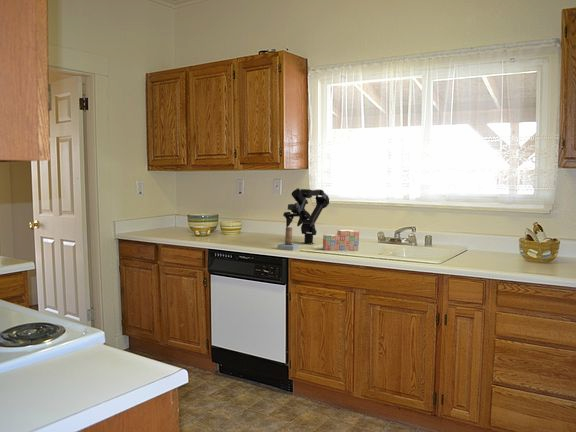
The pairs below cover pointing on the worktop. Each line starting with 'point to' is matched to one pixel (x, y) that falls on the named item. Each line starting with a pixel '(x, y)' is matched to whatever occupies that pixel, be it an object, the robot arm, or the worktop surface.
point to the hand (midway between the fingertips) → (292, 226)
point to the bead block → (288, 246)
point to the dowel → (288, 236)
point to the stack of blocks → (342, 240)
